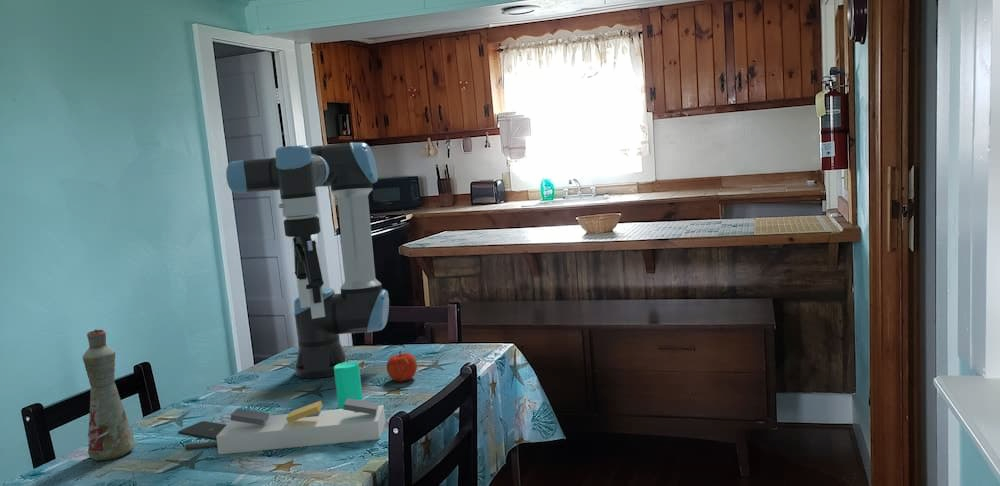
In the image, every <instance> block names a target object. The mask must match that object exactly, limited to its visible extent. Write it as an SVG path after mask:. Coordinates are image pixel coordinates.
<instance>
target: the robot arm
mask: <svg viewBox="0 0 1000 486" xmlns="http://www.w3.org/2000/svg"><path fill="white" fill-rule="evenodd" d="M376 163H377V162H376V159H375V156H374V154H373V151H372V148H371V147H370V145H368V143H365V142H347V143H336V144H335V143H334V144H325V145H315V146H309V145H307V144H305V145H304V144H303V145H302V144H301V145H287V146H280V147H278V148H276V150H275V156H274V157H273V156H271V157H264V158H263V157H262V158H253V159H240V160H235V161H234V160H233V161H231V162H229V163H228V164H227V166H226V170H225V172H226V173H225V175H226V182H227V185H228V188H229V189H230V191H231V192H233V193H235V194H250V193H259V192H268V191H269V192H270V191H279V193H280V195H279V196H280V199H281V201H280V202H281V203H279V204H278V208H279V209H282V216H283V217H284V218H285V219H284V221H283V227H284V228H283V230H284V235H285V237H288V238H292V242H293V252H294V275H295V277H296V279H297V286H298V294H299V295H298V296H297V297H296V298H295V299H294V301H293V310H294V313H293V315H294V319H295V320H294V321H295V327H296V335H297V344H298V350H297V356H296V360H295V364H294V365H295V366H294V371H295V373H294V374H295V376H296V377H298V378H301V379H319V378H326V377H327V378H328V377H331V376H335V374H334V367H335V365H337V364H340V363H343V362H349V359H348V356H347V354H346V352H345V350H344V348H343V346H342V344H341V340H340V335H345V334H346V335H347V334H357V333H359V334H361V333H367V334H370V333H372V332H379V331H382V330H383V329H385V327H386V325H387V323H388V318H389V310H390V298H389V292H388V290H386V289H385V288H383V287H382V283H381V281H379V280H378V279H377V278H376V268H375V259H374V248H373V238H372V225H371V216H370V215H371V214H370V203H369V195H370V193H371V192H372V191H373V184H375V183H377V182H378V178H379V177H378V176H379V175H378V167H377V164H376ZM318 187H321V188H323V187H330V191H331V194H333V195H334V196H335V197H336V198H337V199H336V200H337V207H338V209H337V210H338V218H339V220H338V221H339V228H340V241H341V250H342V251H341V252H342V260H343V271H344V283H343V284H342V285H341V286H340V293H336V291H335V290H334V288H323V286H324V283H325V282H324V279H323V275H322V270H321V265H320V261H319V256H318V252H317V242H316V240H315V239H313V240H312V236H313V235H317V234H319V233H321V225H320V224H321V223H320V217H319V216H317V215H318V214H319V205H318V197H317V192H316V188H318ZM345 359H346V361H345Z"/></svg>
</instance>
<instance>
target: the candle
mask: <svg viewBox="0 0 1000 486" xmlns="http://www.w3.org/2000/svg"><path fill="white" fill-rule="evenodd" d="M345 361H346V359H345ZM334 374H335V375H334V382H335V390H336V399H337V407H338V408H337V409H343V408H344V403H345V402H346V400H347V398H350V399H356V400H362V401H364V398H363V388H362V381H361V380H362V379H361V371H360V365H359V362H357V361H353V362H351V361H348V362H343V363H340V364H337V365H335V367H334Z"/></svg>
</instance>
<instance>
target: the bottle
mask: <svg viewBox="0 0 1000 486" xmlns="http://www.w3.org/2000/svg"><path fill="white" fill-rule="evenodd" d="M86 336H87V340H88V345H89V347H88V348H87V350H86V351H85V352H84V354H82V361H83V364H84V368H85V371H86V375H87V378H88V382H89V386H90V396H89V398H90V399H89V420H88V432H87V438H88V449H87V454H88V456H89V458H91V460H94V461H109V460H110V461H111V460H115V459H118V458H120V457H123V456H125V455H127V454H128V453H129V452H131V451H133V449H134V448H135V447H136V442H135V439H134V435H133V432H132V429H131V425H130V423H129V419H128V417H127V414H126V411H125V408H124V405H123V403H122V400H121V397H120V394H119V391H118V388H117V385H116V383H115V379H116V376H115V373H116V372H115V371H116V369H115V366H116V360H115V359H116V351H115V350H114V349H113V348H112V347H110V346H109V345H108V344H107V343H106V342H107V338H106V337H107V334H106V331H105V330H104V329H97V328H95V329H94V330H92V331H89V332H87V334H86Z"/></svg>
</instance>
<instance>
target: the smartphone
mask: <svg viewBox="0 0 1000 486" xmlns="http://www.w3.org/2000/svg"><path fill="white" fill-rule="evenodd" d="M226 425H227V424H226V423H219V422H211V421H208V420H207V421H206V420H204V421H203V420H202V421H198V422H196V423H194V424H192V425H189V426H187V427H185V428H183V429H180V430H178V432H177V433H178V435H183V436H188V437H196V438H200V439H201V438H202V439H206V440H211V441H217V438H216V436H217V435H218V434H219V433H220V432H221V431H222V430H223V428H224V427H225V426H226Z"/></svg>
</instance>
